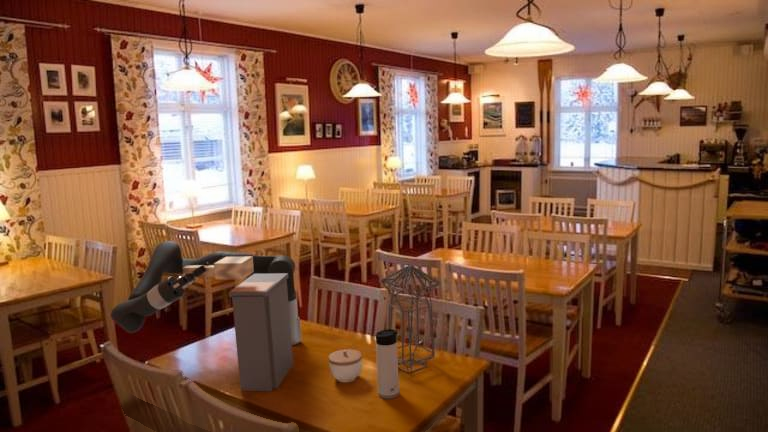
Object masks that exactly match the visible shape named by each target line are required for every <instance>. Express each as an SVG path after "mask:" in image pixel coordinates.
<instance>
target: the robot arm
mask: <svg viewBox="0 0 768 432" xmlns="http://www.w3.org/2000/svg"><path fill="white" fill-rule="evenodd" d="M245 256H253V267H254V272H253V273H251V274H250V275H249V276H252V275H253V274H272V273H288V278H287V291H288V304H289V317H290V330H291V343H292V346H296V345H297V344H299V343H302V342H303V339H302V328H301V317H299V316H298V315H299V313H298V303H297V291H296V288H295V279H294V278H295V277H294V275H295V274H294V273H295V271H296V263H295V261H294V259H292V258H291V257H290V256H287V255H280V254H279V255H258V254H252V253H251V254H250V253H243V252H242V253H241V252H233V251H222V250H218V251H217V250H216V251H214V252H213V251H212V252H211V253H208V254H206V255H204V256H201V257H199V258H184V257H183V255H182V249H181V246H180V244H179V243H178V242H176V241H174V240H165V241H163V242H161V243H159V244H157V246H156V247H155V248H154V251H153V253H152V256H151V258H150V261H149V262H148V265H147V267H146V269H145V271H144V273H143V275H142V277H141V278H140V280H139V281H138V282H137V284H136V286H135V288H134V289H133V290H132V291H131V293H130V295H129V297H128V298H127V299H128V300H124V301H123V302H120V303H118V304H117V305H115V306H114V307H113V308H112V310H111V312H110V318H111V320H112V321H113V322H114V323H116V324H117V325H118V326H119V327H120V328H121V329H123V330H124V331H126V332H127V333H128V334H133V333H136V332H138V331H140V330H141V328H142V327H143V326H144V324H145V322H146V319H147V317H151V316H153V315H154V314H155V313H157V312H158V311H161V310H162V309H164V308H166V307H169V305H171V304H172V303H173V304H174V302H176V301H177V300H179V299H180V298H182V297H183V296H185V291H186V290H185V289H186V288H187V287H189V286H190V285H192V284H193V283H194V282H195V281H197V280H198V279H199V277H198V276H199V275H201V274H202V273H204V272H205V271H206V268H205V267H204V265H214V263H216V262H218V261H219V260H221V259H223V258H225V257H245ZM187 265H202V266H200V267H199V268H197V269H195V270H194V271H191V272H190V273H186V274H184V275H183V267H185V266H187ZM164 274H168V275H180V276H178V277H176V276H168V277H167V278H165V279H164V280H162V278H163V275H164Z"/></svg>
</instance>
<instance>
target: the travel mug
mask: <svg viewBox="0 0 768 432" xmlns="http://www.w3.org/2000/svg"><path fill="white" fill-rule="evenodd" d="M398 333H399V331H398V330H396V329H393V328H391V329H388V328H387V329H381V330H380V331H378V332H377V333H376V334H375V352H376V355H375V356H376V370H377V373H376V375H377V391H378V393H377V394H378V396H379V397H380V398H382V399H385V400H391V399H395V398H397V397H398V396H399V395H400V381H399V380H400V379H399V368H398V367H399V364H398V358H399V357H398V356H399V355H398V349H397V347H398V343H397V341H398V340H397V335H398Z"/></svg>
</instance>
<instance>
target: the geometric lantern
mask: <svg viewBox="0 0 768 432" xmlns="http://www.w3.org/2000/svg"><path fill="white" fill-rule="evenodd" d="M398 273H399V274H398ZM397 274H398V275H397ZM395 275H397V276H396V277H395V278H392V276H395ZM411 277H412V280H413V281H412V282H413V284H414V288H410V287H409V286H410V280H411ZM415 277H416V278H415ZM415 279H417V280H418V282H419V283H420V285H421V286H422V287H421V288H418V286H417V283H416V282H417V281H416V280H415ZM423 280H424V281H423ZM390 281H391V282H390ZM400 281H401V285H398V283H399V282H400ZM380 282H381V284H383V286H384V288H385V289H386V290H387V293H388V296H391V297H390V302H389V303H388V323H387V329H392V323H393V308H394V309H396V310H399V311H400V312H402V323H401V324H402V331H401V332H402V334H401V346H397V350H398V349H400V348H401V356H399V357H398V365H402V366H404V367H405V368H406V370H405V369H403V368H401V367H399V366H398V370H401V371H403V372H405V373H406V374H409V373H413V372H417V371H419V370H422V369H424V368H426V367H427V362H428V361H430V360H431V359H434V358H435V337H434V319H433V318H434V315H433V304H432V297H431V292H432V291H433V290H434V289H436V288H437V287H438V286H439V285H440V284H441V281H440V280H437V279H436V278H434V277H432V275H429V274H428V273H426V272H424V271H423V270H421V269H419V268H418V267H416V266H414V265H413V264H407V265H406V266H404V267H402V268H400V269H398V270H396V271H394V272H392V273H390V274H389V275H386V276H385V277H383V278H381V279H379V281H378V283H380ZM427 282H428V283H429V286H427V285H426V284H427ZM407 283H408V284H407ZM432 283H434V284H432ZM406 284H407V286H406ZM390 287H391V290H390ZM405 289H406V290H405ZM396 290H397V291H398V292H397V293H395V291H396ZM426 290H427V292H426ZM412 291H415V292H416V293H415V292H412ZM422 291H423V294H422V295H420V294H421V293H422ZM403 292H405V293H409V294H410V296H411V297H406V298H402V299H398V298H397V296H398V295H399V294H401V293H403ZM428 294H429V301H428V298H427V295H428ZM421 298H424V299H425V300H423V299H421ZM393 299H395V300H393ZM409 299H411V300H410V302H411V304H410V306H409V308H408V309H407V310H405V309H403V307H402V305H401V303H400V302H401V301H406V300H409ZM418 301H420V302H422V303H425V304H426V305H427V306H425V307H420V308H419V302H418ZM429 302H430V303H429ZM394 303H397V304H398V307H399V308H398V307H396V306H395V305H394ZM415 303H416V309H413V308H414V304H415ZM425 309H428V317H429V329H430V332H429V333H430V342H431V343H430V344H431V350H430V349H429V348H427V347H425V346H423V345H421V344H420V331H419V329H420V328H419V326H420V325H419V323H420V321H419V311H420V310H425ZM414 312H416V329H417V330H416V333H417V334H416V335H417V343H413V342H412V341H413V340H412V338H413V313H414ZM405 313H407V326H408V343H405ZM412 346H415V348H414V349H413V353H412ZM405 347H408V348H409V353H406V354H404V353H405V352H404V350H405V349H404V348H405ZM418 347H420V348H422V349H424V350H425V351H427V352H429V353H431V354H430V355H429V356H428V357H425V358H424V357H422V356H419V355H418V354H415V352H416V351H417V349H418ZM407 356H409V359H405V360H404V357H407ZM414 357H417V358H419V359H418V360H417V359H415V358H414ZM406 364H407V365H406ZM408 364H409V366H408ZM412 364H413V365H412ZM421 364H422V365H424V366H421V367H419V368H415V369H413V367H416V366H419V365H421ZM409 368H410V370H409Z"/></svg>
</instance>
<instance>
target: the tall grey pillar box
mask: <svg viewBox="0 0 768 432" xmlns="http://www.w3.org/2000/svg"><path fill="white" fill-rule="evenodd" d="M287 278H288V273H272V274H253V275H249V277H248V278H245V280H244V281H242V282H241V283H239V284H238V285H236V286H235V287H233V288H232V289H231V290H230V291H229V292H228V297H229V298H231V299H232V309H233V312H232V313H233V321H234V330H235V331H234V332H235V343H236V352H237V353H236V354H237V364H238V376H239V386H240V391H243V392H244V391H245V392H246V391H247V392H272V391H273V390H274V389H277V388H278V387H279V386H280V384H281V383H282V382H283V380H284V378H285V377H286V375H287V374H288V373H289V371H290V370H291V368H292V367H293V366H294V359H293V347H292V343H291V330H290V317H289V304H288V291H287Z"/></svg>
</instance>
